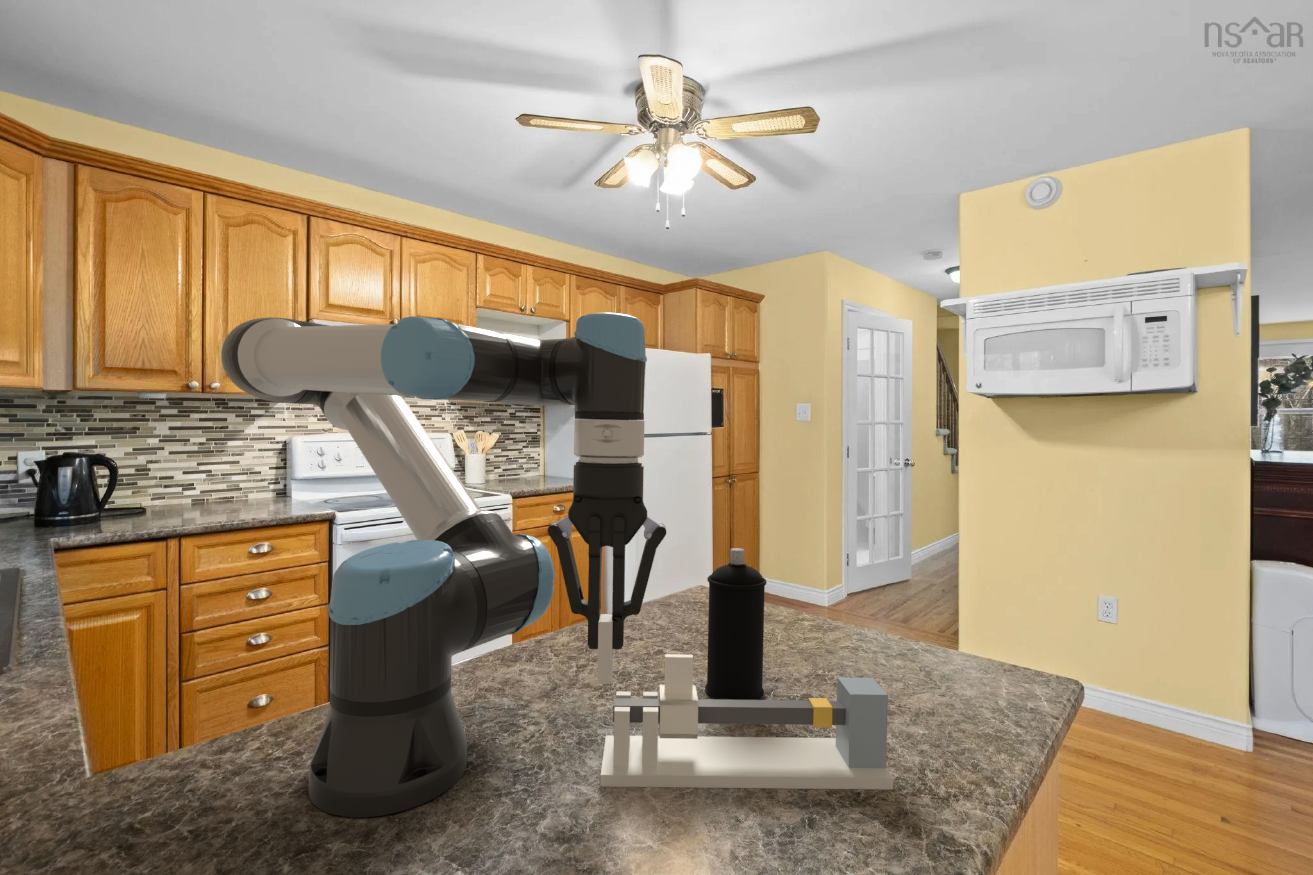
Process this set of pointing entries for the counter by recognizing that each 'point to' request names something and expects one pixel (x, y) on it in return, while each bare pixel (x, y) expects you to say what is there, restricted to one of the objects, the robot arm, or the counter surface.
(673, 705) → the sleeve
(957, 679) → the counter surface
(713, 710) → the grey rod on board
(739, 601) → the aerosol can
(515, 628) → the robot arm
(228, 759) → the counter surface
